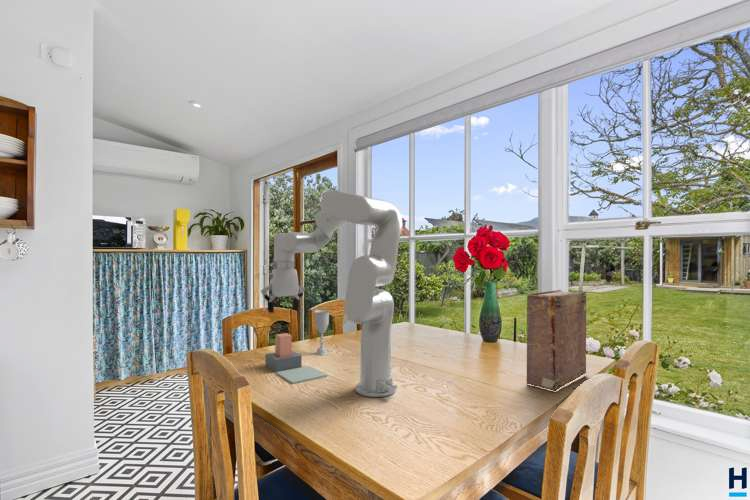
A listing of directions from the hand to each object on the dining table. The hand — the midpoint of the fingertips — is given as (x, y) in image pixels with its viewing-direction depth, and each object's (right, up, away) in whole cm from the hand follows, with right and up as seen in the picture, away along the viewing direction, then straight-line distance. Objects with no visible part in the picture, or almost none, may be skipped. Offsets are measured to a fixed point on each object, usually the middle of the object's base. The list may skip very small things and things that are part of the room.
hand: (283, 311), depth 144 cm
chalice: (+12, -21, +19) cm, 31 cm away
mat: (+9, -21, -10) cm, 25 cm away
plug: (0, -21, 0) cm, 21 cm away
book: (+97, -22, -14) cm, 100 cm away
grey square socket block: (0, -21, 0) cm, 21 cm away
